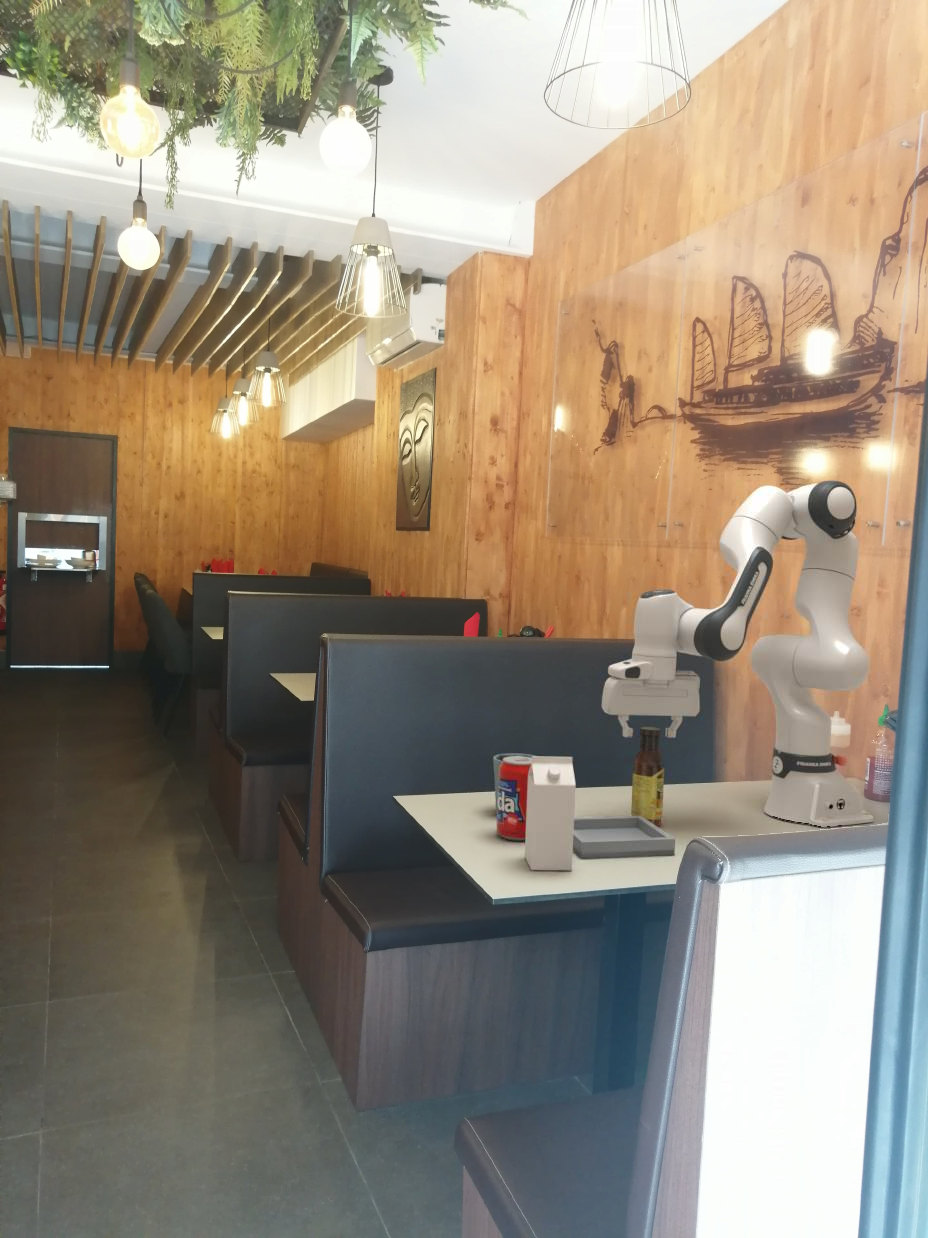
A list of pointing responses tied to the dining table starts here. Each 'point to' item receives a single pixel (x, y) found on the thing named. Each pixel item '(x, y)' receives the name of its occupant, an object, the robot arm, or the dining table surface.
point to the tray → (620, 838)
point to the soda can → (513, 797)
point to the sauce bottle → (648, 778)
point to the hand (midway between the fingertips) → (649, 737)
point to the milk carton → (550, 813)
